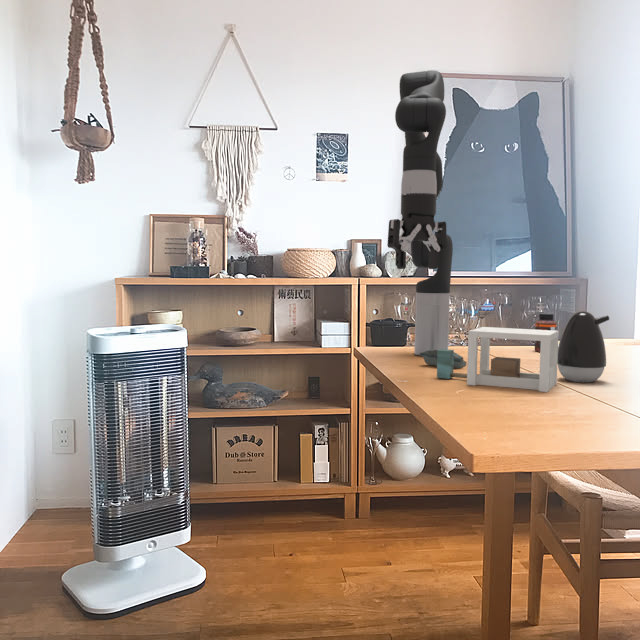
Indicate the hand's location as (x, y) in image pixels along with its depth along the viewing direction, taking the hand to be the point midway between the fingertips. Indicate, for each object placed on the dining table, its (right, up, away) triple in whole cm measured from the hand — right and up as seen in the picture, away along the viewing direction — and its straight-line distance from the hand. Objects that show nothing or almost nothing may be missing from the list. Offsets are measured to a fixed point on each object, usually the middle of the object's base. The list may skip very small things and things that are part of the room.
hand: (417, 269), depth 151 cm
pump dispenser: (+36, -25, +1) cm, 43 cm away
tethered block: (+13, -24, -2) cm, 27 cm away
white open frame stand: (+19, -24, -5) cm, 31 cm away
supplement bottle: (+45, -21, +54) cm, 74 cm away
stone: (+10, -23, +21) cm, 33 cm away
